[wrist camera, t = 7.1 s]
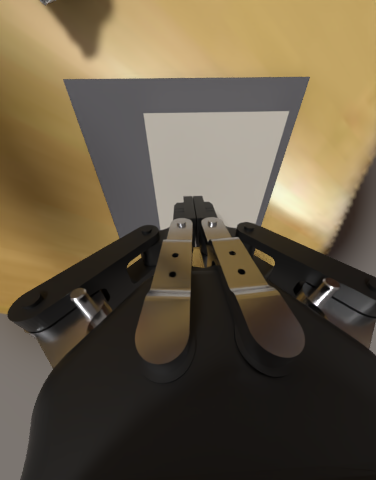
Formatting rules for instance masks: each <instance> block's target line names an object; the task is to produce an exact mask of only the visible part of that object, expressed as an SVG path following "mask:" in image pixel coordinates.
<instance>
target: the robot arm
mask: <svg viewBox="0 0 376 480" xmlns="http://www.w3.org/2000/svg"><path fill="white" fill-rule="evenodd" d="M183 201H184V202H181V203H176V204H175V205H174V214H173V221H172V222H171V223H170V227H169V228H167V229H163V230H159V229H158V227H156V226H154V225H144V226H141V227H139V228H137V229H136V230H134V231H132V232H130V233H129V234H127V235H125V236H123V237H122V238H120V239H118V240H117V241H115V242H113V243H111V244H110V245H108V246H106V247H104V248H103V249H101V250H99V251H98V252H96V253H94V254H92V255H91V256H89V257H87V258H85V259H84V260H82V261H80V262H79V263H77V264H75V265H73V266H72V267H70V268H68V269H66V270H65V271H63V272H61V273H60V274H58V275H56V276H54V277H53V278H51V279H49V280H47V281H46V282H44V283H42V284H41V285H39V286H37V287H35V288H34V289H32V290H30V291H28V292H27V293H25V294H24V295H22V296H21V297H19V298H18V299H17V300H16V301H15V302H14V303H13V304H12V306H11V307H10V309H9V311H8V318H9V319H10V320H11V321H12V322H14V323H15V324H17V325H18V326H20V327H21V328H23V329H24V331H25V332H26V333H28V334H29V335H31V336H33V337H34V338H36V339H37V340H38V342H39V344H40V346H41V348H42V350H43V351H44V353H45V355H46V357H47V359H48V360H49V362H50V364H51V366H52V368H53V370H52V372H51V373H50V375H49V376H48V378H47V379H46V381H45V383H44V384H43V387H42V388H41V390H40V393H39V395H38V397H37V400H36V403H35V406H34V409H33V413H32V419H31V427H30V436H29V444H28V450H27V455H26V460H25V464H24V468H23V472H22V476H21V479H20V480H376V355H375V354H373V352H371V351H370V350H369V348H370V344H371V339H372V335H373V331H374V327H375V322H376V277H374V276H371V275H369V274H367V273H365V272H362V271H360V270H358V269H356V268H353V267H351V266H349V265H346V264H344V263H342V262H340V261H338V260H335V259H333V258H331V257H329V256H326V255H324V254H322V253H319V252H317V251H315V250H313V249H310V248H308V247H306V246H304V245H301V244H299V243H297V242H295V241H292V240H290V239H288V238H286V237H283V236H281V235H279V234H277V233H274V232H272V231H270V230H268V229H265V228H263V227H261V226H258V225H256V224H254V223H250V222H242V223H239V224H238V225H237V228H231V227H227V226H225V224H224V223H223V221H222V220H221V219H219V218H218V217H217V215H216V212H215V209H214V207H213V204H211V203H210V202H204V200H203V196H193V197H192V196H183ZM195 241H196V247H200V258H201V262H202V266H203V268H200V267H193V266H192V253H193V247H195ZM255 249H258V250H260V251H262V252H264V253H265V254H267V255H269V256H271V257H272V258H273V259H274V261H275V265H274V266H272V265H270V264H268V263H267V262H265V261H263V260H262V259H260V258H258V257H256V256H255V255H253V254H254V251H255ZM140 254H141V257H142V258H140V259H139V260H138V261H136V262H135V263H134V264H132V265H131V266H130V267H128V268H127V265H128V263H129V262H130V261H131V260H133V259H134V258H135V257H137V256H138V255H140Z"/></svg>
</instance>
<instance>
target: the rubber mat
mask: <svg viewBox="0 0 376 480" xmlns="http://www.w3.org/2000/svg"><path fill="white" fill-rule="evenodd" d="M309 78H310V77H255V78H156V79H63V80H64V83H65V86H66V89H67V92H68V95H69V97H70V100H71V103H72V106H73V109H74V111H75V114H76V117H77V120H78V123H79V125H80V128H81V131H82V134H83V137H84V139H85V142H86V145H87V148H88V151H89V153H90V156H91V159H92V162H93V165H94V167H95V170H96V173H97V176H98V179H99V181H100V184H101V187H102V190H103V193H104V196H105V198H106V201H107V204H108V207H109V210H110V212H111V215H112V218H113V221H114V224H115V226H116V229H117V232H118V235H119V238H122V237H123V236H125V235H127V234H129V233H130V232H132V231H134V230H136V229H137V228H139V227H141V226H144V225H154V226H156V227H158V229H159V230H160V223H159V216H158V210H157V203H156V196H155V189H154V182H153V175H152V169H151V162H150V155H149V148H148V141H147V135H146V128H145V121H144V114H143V113H198V112H264V111H289V114H288V117H287V121H286V124H285V127H284V131H283V134H282V137H281V141H280V144H279V147H278V151H277V154H276V157H275V161H274V164H273V167H272V171H271V174H270V177H269V181H268V184H267V187H266V191H265V194H264V197H263V201H262V204H261V207H260V211H259V214H258V217H257V221H256V225H258V226H261V225H262V221H263V218H264V215H265V212H266V209H267V206H268V203H269V200H270V197H271V194H272V191H273V188H274V185H275V182H276V179H277V176H278V173H279V170H280V167H281V164H282V161H283V158H284V154H285V151H286V148H287V145H288V142H289V139H290V136H291V133H292V130H293V127H294V124H295V121H296V118H297V115H298V112H299V109H300V106H301V103H302V100H303V97H304V94H305V91H306V87H307V84H308V81H309Z"/></svg>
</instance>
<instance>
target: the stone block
mask: <svg viewBox="0 0 376 480" xmlns="http://www.w3.org/2000/svg"><path fill="white" fill-rule="evenodd" d="M143 114H144V121H145V128H146V135H147V141H148V148H149V155H150V162H151V169H152V175H153V182H154V189H155V196H156V203H157V210H158V216H159V223H160V230H163V229H167V228H169V227H170V223H171V222H172V221H173V214H174V205H175V204H176V203H181V202H184V201H183V196H192V197H193V196H203V200H204V202H210V203H211V204H213V207H214V209H215V212H216V215H217V217H218V218H219V219H221V220H222V221H223V223H224V224H225V226H227V227H231V228H237V225H238V224H239V223H242V222H250V223H254V224H256V221H257V217H258V214H259V211H260V207H261V204H262V201H263V197H264V194H265V191H266V187H267V184H268V181H269V177H270V174H271V171H272V167H273V164H274V161H275V157H276V154H277V151H278V147H279V144H280V141H281V137H282V134H283V131H284V127H285V124H286V121H287V117H288V114H289V111H264V112H198V113H143ZM195 247H196V241H195Z"/></svg>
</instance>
